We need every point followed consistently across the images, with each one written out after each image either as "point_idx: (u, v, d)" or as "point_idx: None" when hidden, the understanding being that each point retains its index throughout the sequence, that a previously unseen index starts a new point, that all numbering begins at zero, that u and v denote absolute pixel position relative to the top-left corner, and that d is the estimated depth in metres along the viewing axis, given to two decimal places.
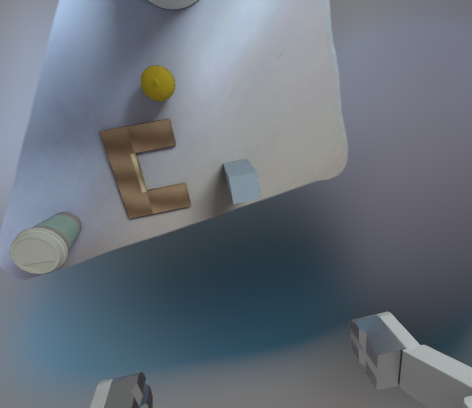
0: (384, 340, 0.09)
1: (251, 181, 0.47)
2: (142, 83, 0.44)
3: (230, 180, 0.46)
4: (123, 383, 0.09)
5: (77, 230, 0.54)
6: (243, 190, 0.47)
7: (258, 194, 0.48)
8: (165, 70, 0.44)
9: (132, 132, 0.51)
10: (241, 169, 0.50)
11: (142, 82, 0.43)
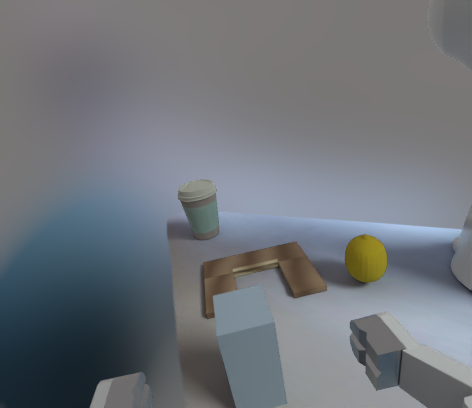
0: (384, 340, 0.09)
1: (254, 315, 0.24)
2: None
3: (255, 287, 0.27)
4: (123, 383, 0.09)
5: (202, 229, 0.59)
6: (236, 306, 0.25)
7: (226, 330, 0.23)
8: (384, 253, 0.37)
9: (300, 259, 0.47)
10: None
11: None
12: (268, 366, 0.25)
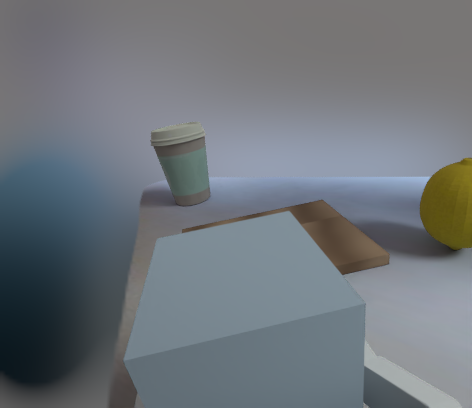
0: None
1: (278, 281, 0.07)
2: None
3: (275, 216, 0.10)
4: None
5: (185, 189, 0.42)
6: (217, 258, 0.08)
7: (169, 336, 0.06)
8: None
9: (334, 220, 0.29)
10: None
11: None
12: None
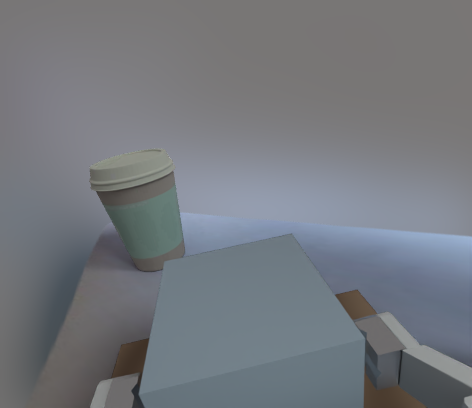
0: (384, 340, 0.09)
1: (282, 312, 0.07)
2: None
3: (278, 239, 0.10)
4: (123, 383, 0.09)
5: (143, 250, 0.28)
6: (223, 285, 0.08)
7: (180, 369, 0.06)
8: None
9: None
10: None
11: None
12: None
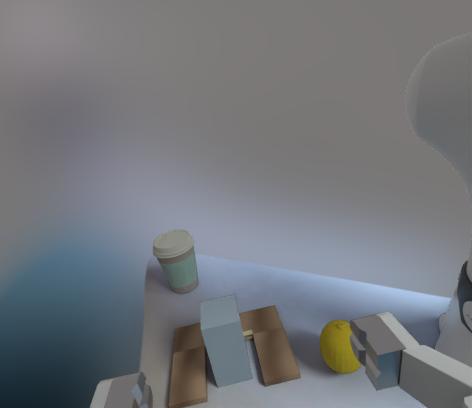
0: (384, 340, 0.09)
1: (227, 316, 0.35)
2: (335, 321, 0.37)
3: (230, 296, 0.39)
4: (123, 383, 0.09)
5: (178, 284, 0.56)
6: (215, 309, 0.37)
7: (207, 326, 0.34)
8: None
9: (276, 331, 0.44)
10: (241, 326, 0.38)
11: None
12: (237, 351, 0.36)
